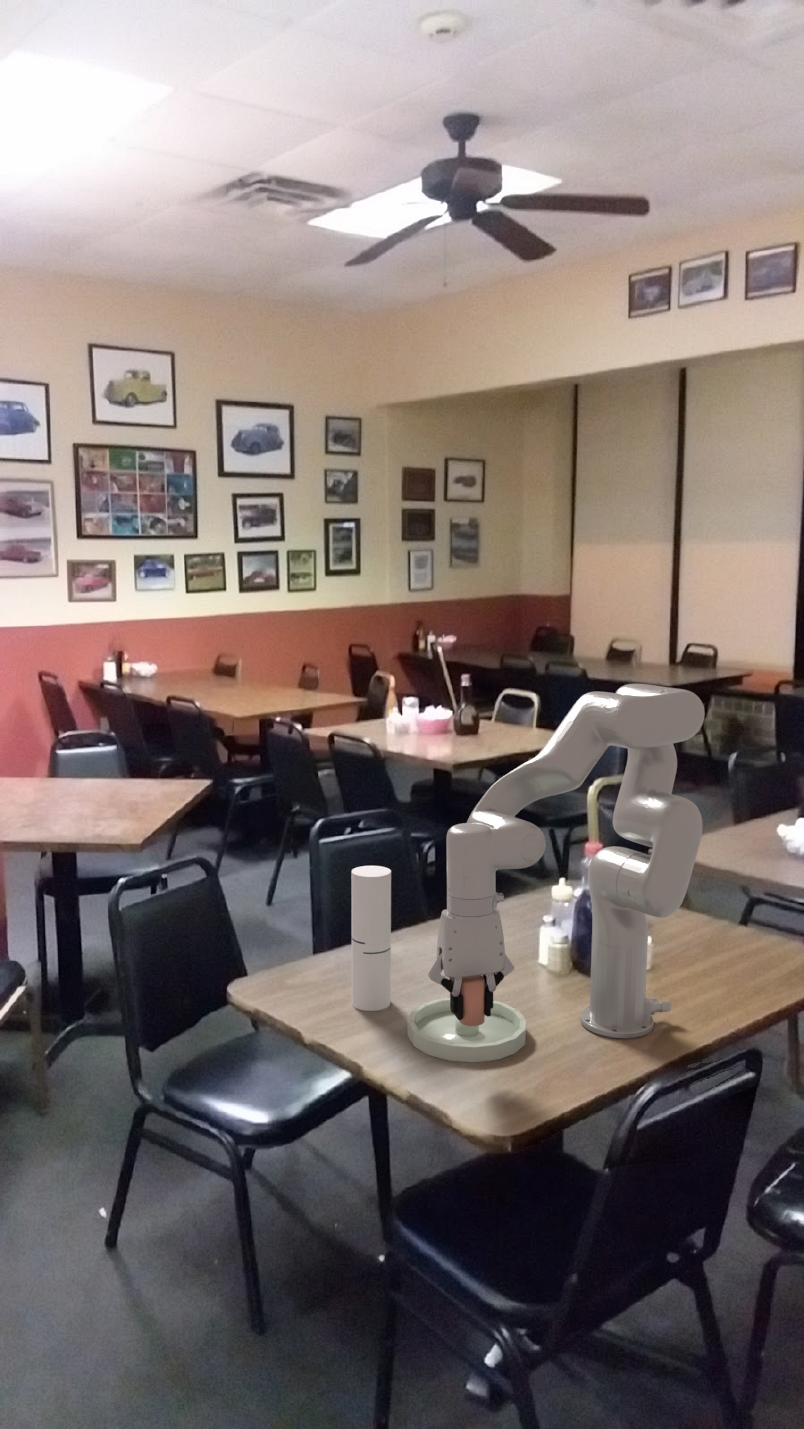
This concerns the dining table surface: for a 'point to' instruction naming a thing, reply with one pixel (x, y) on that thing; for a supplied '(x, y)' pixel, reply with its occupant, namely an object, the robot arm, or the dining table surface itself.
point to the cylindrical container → (371, 937)
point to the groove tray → (466, 1033)
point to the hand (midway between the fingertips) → (471, 1013)
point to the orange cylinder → (473, 1000)
